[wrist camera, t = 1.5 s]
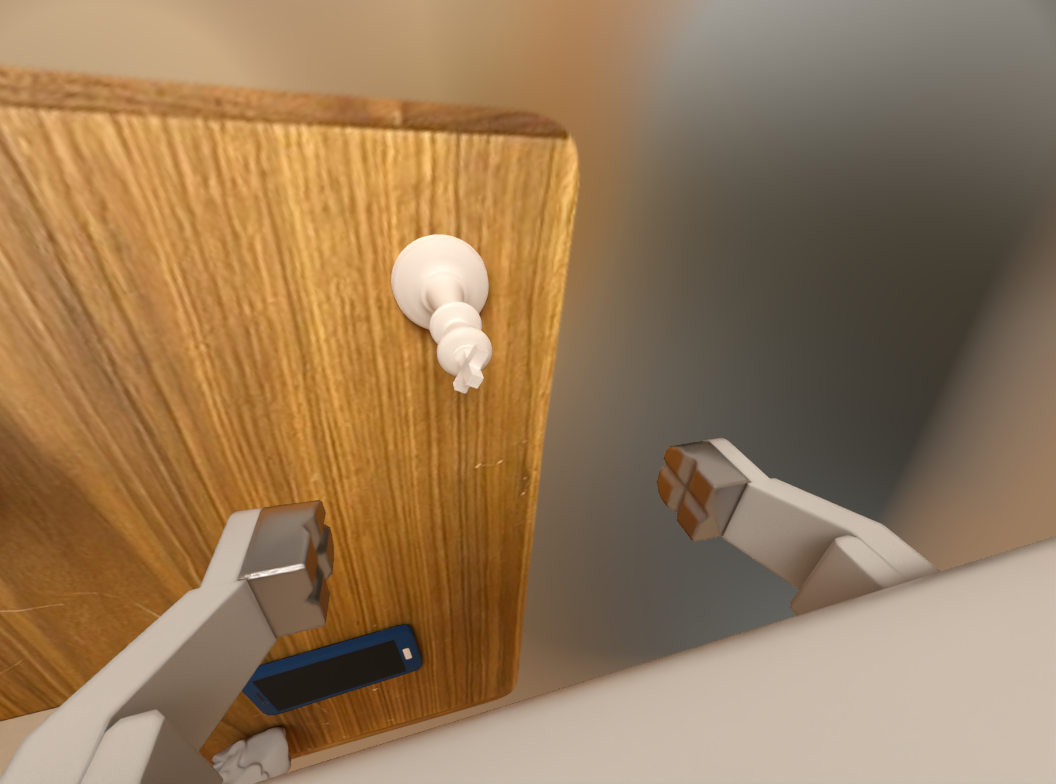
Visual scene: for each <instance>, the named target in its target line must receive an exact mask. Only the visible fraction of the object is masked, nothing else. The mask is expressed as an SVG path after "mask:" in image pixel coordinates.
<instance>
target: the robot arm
mask: <svg viewBox="0 0 1056 784" xmlns="http://www.w3.org/2000/svg"><path fill="white" fill-rule="evenodd" d="M664 460H665V462H666V463H667V464H666V465H665V466H664V468H663V469H661V471H660V472H659V476H658V480H657V484H658V491H659V494H660V496H661V499H662V500H663V502H664V503H665V505H666V506H667V507H668V508H670V509H672V510H674V511H675V512H677V514H678V515H677V521H678V522H679V524H680V525H681V526H682V528H683V529H684V530H685V532H686V533H687V534H688V536H689V537H690V539H691V540H692V541H693V542H694V541H699V540H704V539H710V538H715V537H719V536H723V537H722V538H723V539H725V540H727V541H728V542H729V543H731V544H732V545H734V546H735V547H737V548H738V549H740V550H741V551H742V552H744V553H746V554H747V555H749V556H750V557H751V558H753V559H754V560H756V561H757V562H759V563H760V564H762V565H763V566H765V567H766V568H768V569H769V570H771V571H772V572H774V573H775V574H776V575H778V576H779V577H781V578H782V579H784V580H785V581H787V582H788V583H790V584H791V585H793V586H794V587H796V588H797V589H799V591H798V592H797V594H796V595H795V597H794V598H793V600H792V601H791V607H790V608H791V609H792V610H793V612H794V613H795V614H796V615H797V616H795V617H792V618H788V619H785V620H782V621H779V622H775V623H772V624H769V625H766V626H763V627H759V628H756V629H753V630H749V631H746V632H743V633H740V634H736V635H733V636H730V637H727V638H724V639H721V640H717V641H714V642H711V643H708V644H704V645H701V646H698V647H694V648H691V649H688V650H684V651H681V652H678V653H675V654H671V655H669V656H665V657H662V658H658V659H655V660H652V661H649V662H645V663H643V664H639V665H636V666H633V667H629V668H626V669H623V670H620V671H616V672H613V673H610V674H607V675H603V676H600V677H597V678H594V679H591V680H587V681H584V682H581V683H577V684H574V685H571V686H568V687H564V688H561V689H558V690H555V691H552V692H548V693H545V694H542V695H539V696H535V697H532V698H529V699H526V700H522V701H519V702H516V703H512V704H509V705H506V706H503V707H500V708H496V709H493V710H490V711H487V712H484V713H480V714H477V715H474V716H470V717H467V718H464V719H461V720H457V721H454V722H451V723H448V724H444V725H441V726H438V727H435V728H432V729H428V730H425V731H422V732H418V733H415V734H412V735H409V736H406V737H402V738H399V739H396V740H393V741H389V742H386V743H383V744H380V745H376V746H373V747H370V748H367V749H364V750H360V751H357V752H354V753H351V754H347V755H344V756H341V757H337V758H334V759H331V760H328V761H325V762H321V763H318V764H315V765H312V766H308V767H305V768H302V769H299V770H296V771H292V772H289V773H286V774H282V775H279V776H276V777H273V778H269V779H266V780H263V781H260V782H257V783H253V784H1056V536H1054V537H1051V538H1048V539H1044V540H1041V541H1038V542H1035V543H1032V544H1028V545H1025V546H1022V547H1019V548H1016V549H1012V550H1009V551H1006V552H1002V553H999V554H996V555H993V556H990V557H986V558H983V559H980V560H976V561H974V562H970V563H967V564H964V565H961V566H957V567H954V568H950V569H947V570H944V571H940V570H939V569H937V568H936V567H935V566H934V565H932V564H931V563H930V562H929V561H927V560H926V559H925V558H924V557H922V556H921V555H920V554H919V553H918V552H916V551H915V550H914V549H912V548H911V547H910V546H909V545H907V544H906V543H905V542H904V541H903V540H901V539H900V538H899V537H898V536H896V535H895V534H894V533H893V532H891V531H890V530H889V529H888V528H886V527H885V526H884V525H882V524H880V523H878V522H875V521H873V520H871V519H868V518H866V517H864V516H861V515H859V514H857V513H854V512H852V511H850V510H847V509H845V508H843V507H840V506H838V505H836V504H833V503H831V502H829V501H826V500H824V499H822V498H820V497H817V496H815V495H813V494H810V493H808V492H806V491H803V490H801V489H799V488H796V487H794V486H792V485H789V484H787V483H785V482H782V481H780V480H778V479H776V478H775V479H769V478H768V477H767V476H766V475H765V474H764V473H763V472H762V471H761V470H760V469H758V468H757V467H756V466H755V465H754V464H753V463H752V462H751V461H750V460H749V459H747V458H746V457H745V456H744V455H743V454H742V453H741V452H740V451H739V450H738V449H737V448H735V447H734V446H733V445H732V444H731V443H730V442H729V441H728V440H725V439H723V438H717V439H711V440H705V441H700V442H693V443H688V444H681V445H675V446H670V447H669V448H668V449H667V451H666V453H665V456H664ZM325 513H326V512H325V509H324V506H323V504H322V501H320V500H316V501H308V502H300V503H293V504H285V505H277V506H270V507H264V508H259V509H251V510H243V511H235V512H234V513H233V514H232V515H231V516H230V517H229V519H228V521H227V523H226V526H225V528H224V531H223V533H222V535H221V538H220V540H219V543H218V545H217V547H216V550H215V552H214V555H213V557H212V559H211V562H210V564H209V567H208V569H207V572H206V574H205V576H204V579H203V581H202V584H201V586H200V588H198V589H193V590H189V591H188V592H187V593H186V594H185V595H184V596H183V597H182V598H181V599H179V600H178V601H177V602H176V603H175V604H174V605H173V606H172V607H170V608H169V609H168V610H167V611H166V612H165V613H164V614H163V615H162V616H160V617H159V618H158V619H157V620H156V621H155V622H154V623H153V624H151V625H150V626H149V627H148V628H147V629H146V630H145V631H144V632H143V633H141V634H140V635H139V636H138V637H137V638H136V639H135V640H134V641H132V642H131V643H130V644H129V645H128V646H127V647H126V648H125V649H124V650H122V651H121V652H120V653H119V654H118V655H117V656H116V657H115V658H113V659H112V660H111V661H110V662H109V663H108V664H107V665H106V666H105V667H103V668H102V669H101V670H100V671H99V672H98V673H97V674H96V675H94V676H93V677H92V678H91V679H90V680H89V681H88V682H87V683H86V684H84V685H83V686H82V687H81V688H80V689H79V690H78V691H77V692H76V693H74V694H73V695H72V696H71V697H70V698H69V699H68V700H67V701H65V702H64V703H63V704H62V705H61V706H60V707H59V708H58V709H57V710H55V711H54V712H53V713H52V714H51V715H50V716H49V717H48V718H46V719H45V720H44V721H43V722H42V723H41V724H40V725H39V726H38V727H36V728H35V729H34V730H33V731H32V732H31V733H30V734H29V735H27V736H26V737H25V738H24V739H23V740H22V742H21V743H20V745H19V747H18V748H17V750H16V752H15V753H14V755H13V757H12V758H11V760H10V762H9V763H8V765H7V767H6V768H5V770H4V772H3V773H2V775H1V777H0V784H222V783H223V778H222V776H221V775H220V774H219V772H218V771H217V770H216V769H215V768H214V767H213V766H212V765H211V764H210V763H209V762H208V761H207V760H206V759H205V758H204V757H203V756H202V755H201V754H200V753H199V750H200V749H201V748H202V746H203V745H204V743H205V742H206V740H207V739H208V738H209V736H210V735H211V733H212V732H213V730H214V729H215V728H216V726H217V725H218V723H219V722H220V721H221V719H222V718H223V716H224V715H225V713H226V712H227V711H228V709H229V708H230V706H231V705H232V703H233V702H234V701H235V699H236V698H237V696H238V695H239V694H240V692H241V691H242V689H243V688H244V686H245V685H246V684H247V682H248V681H249V679H250V678H251V676H252V675H253V674H254V672H255V671H256V669H257V668H258V667H259V665H260V664H261V662H262V661H263V659H264V658H265V657H266V655H267V654H268V652H269V651H270V649H271V648H272V647H273V645H274V644H275V642H276V638H278V637H282V636H286V635H290V634H294V633H298V632H302V631H305V630H309V629H313V628H317V627H321V626H325V625H326V618H327V611H328V603H329V596H330V592H329V589H328V586H327V583H326V580H327V579H328V578H329V577H330V575H331V574H332V572H333V563H334V545H333V538H332V533H331V530H330V527H328V526H327V525H325V524H324V520H325Z"/></svg>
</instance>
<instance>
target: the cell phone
mask: <svg viewBox="0 0 1056 784" xmlns="http://www.w3.org/2000/svg"><path fill="white" fill-rule="evenodd" d="M421 666H422V656H421V653H420V650H419V647H418V644H417V642H416V639H415V636H414V633H413V630H412V628H411V627H410V626H409V625H405V624H404V625H400V626H396V627H393V628H389V629H386V630H382V631H379V632H375V633H372V634H368V635H365V636H362V637H358V638H355V639H351V640H348V641H344V642H341V643H337V644H334V645H330V646H327V647H323V648H320V649H317V650H313V651H310V652H306V653H303V654H299V655H296V656H292V657H289V658H285V659H282V660H279V661H275V662H272V663H268V664H265V665H261V666H259V667H258V668H257V669H256V671H255V672H254V674H253V675H252V676H251V678H250V679H249V681H248V682H247V684H246V685H245V686H244V688H243V689H242V691H243V692H244V694H245V695H246V696H247V697H248V698H249V699H250V700H251V701H252V702H253V703H254V704H255V705H256V706H257V707H258V708H259V709H260V710H261V711H262V712H263V713H264V714H267V715H278V714H281V713H284V712H287V711H290V710H293V709H296V708H300V707H303V706H306V705H309V704H312V703H315V702H319V701H322V700H325V699H328V698H331V697H334V696H337V695H341V694H344V693H347V692H350V691H353V690H356V689H359V688H363V687H366V686H369V685H372V684H375V683H378V682H382V681H385V680H388V679H391V678H394V677H397V676H400V675H404V674H407V673H410V672H413V671H416V670H418V669H420V668H421Z"/></svg>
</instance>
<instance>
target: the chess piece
mask: <svg viewBox="0 0 1056 784" xmlns="http://www.w3.org/2000/svg"><path fill="white" fill-rule="evenodd" d="M391 285H392V291H393V294H394V297H395V300H396V302H397V304H398V306H399V307H400V309H401V310H402V312H403V313H404V314H405V315H406V316H407V317H408V318H409V319H410V320H411V321H412V322H414V323H415V324H417V325H419V326H421V327H423V328H426V329H429V330H430V333H431V336H432V338H433V339H434V341H435V342H436V343H437V344H438V347H437V358H438V361H439V364H440V365H441V367H442V368H443V369H444V370H445V371H446V372H448V373H449V374H451V375H454V376H457V377H456V378H455V380H454V382H453V386H454V390H457V391H460V392H462V393H465V394H466V392H467V391H468V389H469V387H470V386H471V387H474V388H476V389H478V387H479V386H480V384H481V382H482V380H483V379H484V378H483V375H482V372H481V371H482V370H483V369H484V368H485V367H486V366H487V365H488V363H489V361H490V359H491V356H492V346H491V342H490V340H489V338H488V337H487V336H486V335H485V334H484V333H483V332H482V331H481V328H482V322H481V318H480V316H479V313H480V312H481V310H482V309H483V307H484V305H485V303H486V300H487V296H488V290H489V282H488V275H487V271H486V268H485V265H484V263H483V261H482V259H481V257H480V256H479V254H478V253H477V252H476V251H475V250H474V249H473V248H472V247H471V246H470V245H468V244H467V243H466V242H464V241H462V240H460V239H458V238H455V237H452V236H448V235H429V236H425V237H422V238H419V239H417V240H415V241H413V242H412V243H410V244H409V245H408V246H407V247H405V248H404V249H403V251H402V252H401V253H400V254H399V256H398V258H397V259H396V261H395V264H394V266H393V270H392V276H391Z"/></svg>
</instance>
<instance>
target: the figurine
mask: <svg viewBox="0 0 1056 784" xmlns="http://www.w3.org/2000/svg"><path fill="white" fill-rule="evenodd" d="M214 760H215V761H214ZM211 761H214V763H215V762H216V763H215V765H213V767H214V768H215V769H216V770H217V771H218V772H219V774H220V775H221V776H222V778H223V783H222V784H253V783H257V782H260V781H263V780H266V779H269V778H273V777H276V776H279V775H282V774H286V773H287V771H288V770H289V769H290V767H291V756H290V754H289V752H288V744H287V741H286V731H285V728H283V727H282V728H280V727H274V728H271V729H269V730H267V731H265V732H261V733H258V734H256V735H254V736H252V737H250V738H247V739H244V740H240V741H238V742H236V743H235V744H233V745H231V746H229V747H227V748H226V749H224V750H223V751H221V752H219V753H217V754H215V755H214V756H213V758H212V760H211ZM214 763H213V764H214Z"/></svg>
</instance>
